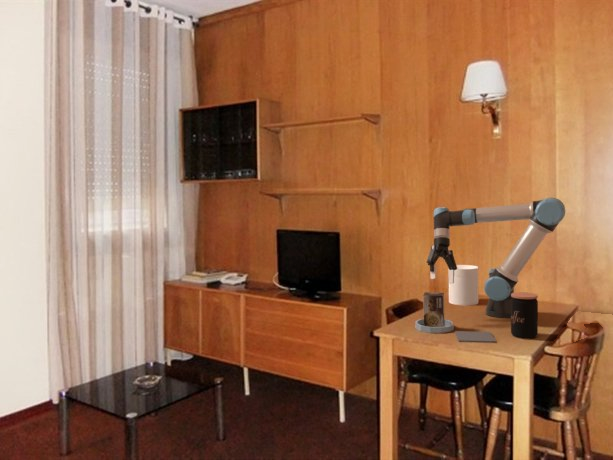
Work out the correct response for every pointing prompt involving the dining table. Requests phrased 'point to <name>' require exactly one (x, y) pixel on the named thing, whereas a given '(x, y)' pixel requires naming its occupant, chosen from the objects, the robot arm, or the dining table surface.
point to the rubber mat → (474, 336)
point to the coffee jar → (524, 315)
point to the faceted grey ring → (434, 329)
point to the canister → (464, 286)
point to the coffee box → (433, 309)
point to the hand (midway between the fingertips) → (442, 281)
